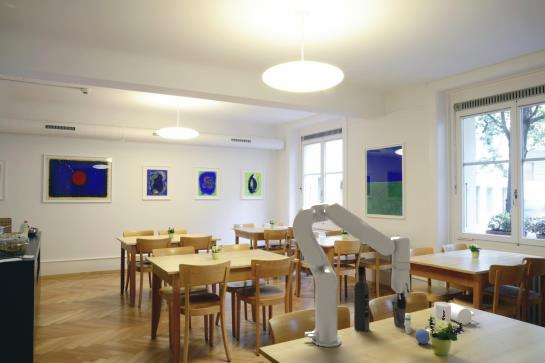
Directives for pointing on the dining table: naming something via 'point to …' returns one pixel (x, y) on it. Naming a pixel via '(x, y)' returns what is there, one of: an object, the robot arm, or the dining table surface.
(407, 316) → the pin
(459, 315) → the mug
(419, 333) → the ball
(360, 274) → the wine bottle
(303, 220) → the robot arm
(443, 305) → the white cup
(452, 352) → the dining table surface
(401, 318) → the beverage cup
